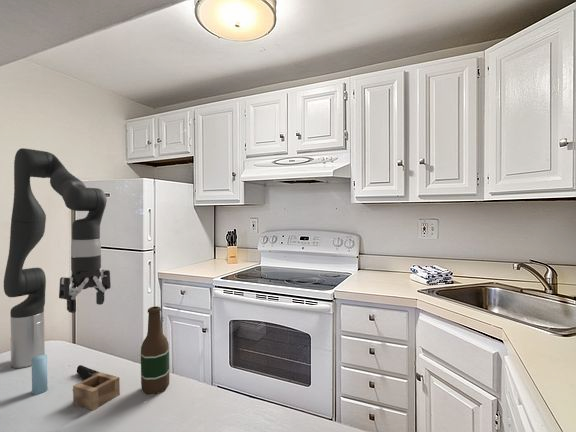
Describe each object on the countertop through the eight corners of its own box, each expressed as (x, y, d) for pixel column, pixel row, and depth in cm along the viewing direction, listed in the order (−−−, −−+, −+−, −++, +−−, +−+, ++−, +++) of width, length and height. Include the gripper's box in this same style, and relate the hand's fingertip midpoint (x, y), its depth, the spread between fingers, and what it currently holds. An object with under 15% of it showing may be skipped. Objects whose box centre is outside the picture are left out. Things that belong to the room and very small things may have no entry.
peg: (29, 393, 93) (28, 358, 93) (42, 386, 96) (42, 353, 96) (36, 395, 91) (36, 360, 91) (50, 389, 95) (49, 355, 95)
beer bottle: (141, 384, 96) (140, 305, 96) (169, 379, 99) (167, 302, 99) (140, 398, 89) (139, 313, 89) (170, 391, 92) (168, 309, 92)
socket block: (73, 403, 87) (73, 385, 87) (100, 389, 94) (100, 372, 94) (93, 410, 84) (92, 391, 84) (119, 394, 91) (119, 377, 91)
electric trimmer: (86, 371, 106) (85, 362, 106) (111, 383, 98) (111, 373, 98) (73, 376, 103) (73, 366, 103) (98, 389, 94) (98, 378, 94)
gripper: (99, 250, 103) (99, 300, 103) (52, 256, 90) (53, 313, 90) (116, 252, 100) (116, 303, 100) (70, 258, 87) (70, 317, 87)
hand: (86, 308), depth 95 cm, fingers open, 8 cm apart
